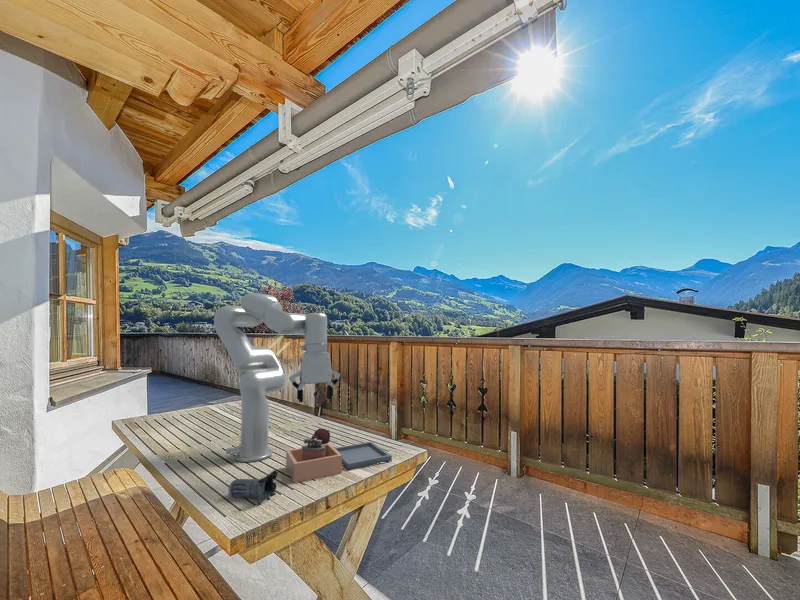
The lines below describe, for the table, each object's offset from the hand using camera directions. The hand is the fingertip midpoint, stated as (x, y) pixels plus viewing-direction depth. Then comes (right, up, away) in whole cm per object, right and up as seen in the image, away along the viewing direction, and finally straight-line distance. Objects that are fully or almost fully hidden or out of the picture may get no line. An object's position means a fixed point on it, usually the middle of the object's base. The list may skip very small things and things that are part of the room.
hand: (315, 400), depth 115 cm
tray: (+14, -23, +9) cm, 29 cm away
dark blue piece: (-13, -21, -21) cm, 32 cm away
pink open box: (0, -22, -3) cm, 23 cm away
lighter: (0, -23, -3) cm, 23 cm away
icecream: (-3, -25, +22) cm, 34 cm away
